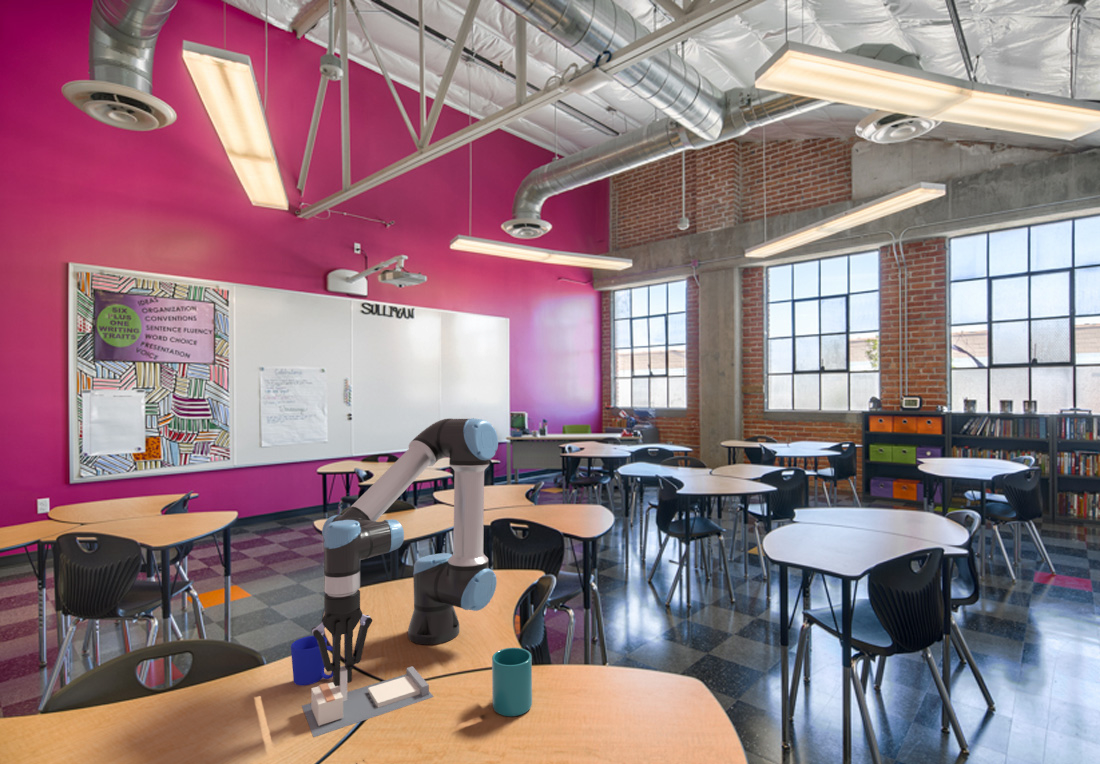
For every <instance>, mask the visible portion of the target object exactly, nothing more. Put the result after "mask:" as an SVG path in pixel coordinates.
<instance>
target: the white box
mask: <svg viewBox="0 0 1100 764" xmlns="http://www.w3.org/2000/svg"><path fill="white" fill-rule="evenodd" d="M310 690H311V692H310V693H311V698H310V699H311V702H310V703H311V709H312V711H313V713H314V716H315V718H316V721H317V723H318V726H320V725H323V724H326V723H329V722H332V721H335V720H338V719H341V718H343V696H342V694H341V692H340V690H339V688H338V686H336V687H335V685H334V683H333V681H332V682H325V683H321V684H319V685H318V686H314V687H311V689H310Z"/></svg>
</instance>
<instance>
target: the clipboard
mask: <svg viewBox="0 0 1100 764" xmlns="http://www.w3.org/2000/svg"><path fill="white" fill-rule="evenodd" d="M432 698H434V695H433V694H432V692H431V691H430V685H429V683H428V682H427V680H425V679H424V678H423V676H422V675H421V674H420V673H419V672H418V671H417V670H416V668H415V667H414V666H413V665H412V666H409V667H406V673H405V674H402V675H399V676H395V677H392V678H388V679H385V680H382V681H379V682H376V683H372V684H369V685H366V686H362V687H359V688H356V689H353V690H348V691H347V700H346V701H343V718H341V719H338V720H335V721H332V722H329V723H326V724H323V725H320V726H318V723H317V721H316V718H315V716H314V713H313V711H312V709H311V702H308V703H306V704H304V705H301V708H302V711H303V713H304V716H305V719H306V720H307V723H308V726H309V729H310V732H311V734H312V737H313V738H316V737H318V736H321V735H325V734H327V733H331V732H334V731H336V730H337V731H338V730H339V729H343V728H346V727H348V726H352V725H354V724H358V723H360V722H363V721H364V722H365V721H366V720H369V719H372V718H375V717H378V716H381V715H384V714H387V713H390V712H394V711H396V710H399V709H403V708H405V707H408V706H411V705H413V704H417V703H420V702H423V701H425V700H428V699H432Z"/></svg>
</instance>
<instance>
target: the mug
mask: <svg viewBox="0 0 1100 764" xmlns="http://www.w3.org/2000/svg"><path fill="white" fill-rule="evenodd" d="M323 638H324V640H325V644H326V647H327V651H329V652H332V646H331V645H327V644H328V643H327V641H328V640H327V638H326V637H325V636H323ZM290 652H291V653H290V655H291V665H292V677H293V678H292V679H293V683H294V684H295V685H296V686H310V685H314V684H316V683H318V682H320V681H321V680H323V679H324V680H329V679H331V678H332V679H333V671H331V673H330V674H326V673H325V670H326V669H325V667H324V664H323V660H322V657H321V653H320V649H319V646H318V642H317V639H316V638H315V637H314V635H308V636H304V637H300V638H298V639H296V640H295V641H293V642H292V643H291V645H290Z"/></svg>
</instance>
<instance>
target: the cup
mask: <svg viewBox="0 0 1100 764" xmlns="http://www.w3.org/2000/svg"><path fill="white" fill-rule="evenodd" d="M532 657H533V656H532V653H531V652H530V651H529V650H527V649H525V648H522V647H507V648H503V649H500V650H498V651H496V652H494V654H493V655H492V657H491V673H492V674H491V675H492V676H491V677H492V679H491V681H492V682H491V683H492V684H491V686H492V689H491V690H492V693H491V694H492V709H493V710H494V711H495V712H496V713H497V714H499V715H500V716H504V717H518V716H521V715H523V714H525V713H527V712H528V711H529V710H530V709H531V708H532V705H533V667H532V666H533V664H532V663H533V661H532V660H533V659H532Z"/></svg>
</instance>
